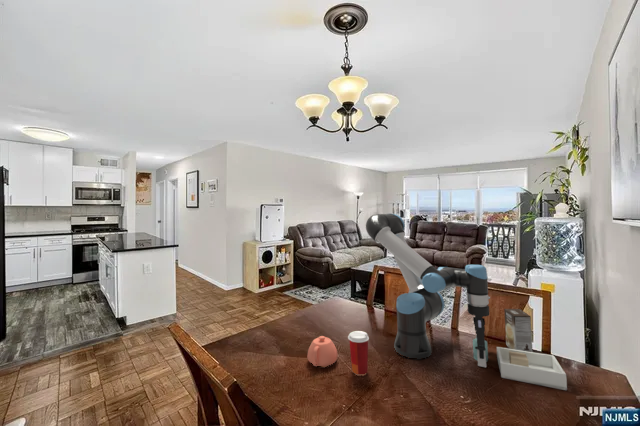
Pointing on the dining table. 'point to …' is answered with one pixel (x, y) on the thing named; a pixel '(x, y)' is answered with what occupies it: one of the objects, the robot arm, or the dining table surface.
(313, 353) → the sugar bowl
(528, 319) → the coffee box
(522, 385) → the dining table surface
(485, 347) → the teal cylinder
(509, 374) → the tray
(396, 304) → the robot arm
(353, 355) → the paper cup
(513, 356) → the beech cube
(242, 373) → the dining table surface
